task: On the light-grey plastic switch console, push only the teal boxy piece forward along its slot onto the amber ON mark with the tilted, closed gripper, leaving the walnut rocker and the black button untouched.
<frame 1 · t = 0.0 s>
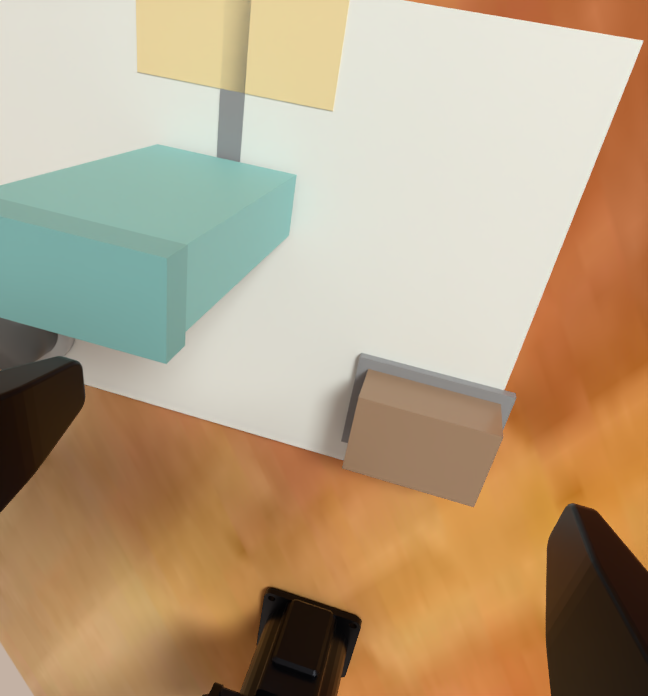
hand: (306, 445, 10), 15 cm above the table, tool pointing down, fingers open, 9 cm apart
console: (240, 242, 24), on the table
teal boxy piece: (158, 224, 17), point 6 cm above the table, slide at 0.0 cm
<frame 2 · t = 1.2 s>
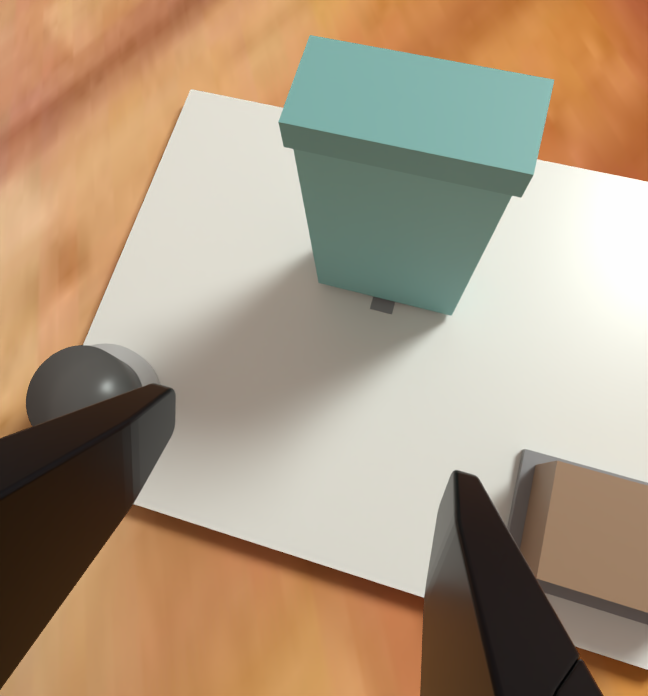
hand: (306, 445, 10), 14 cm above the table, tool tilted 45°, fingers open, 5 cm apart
console: (386, 335, 24), on the table
teal boxy piece: (399, 211, 19), point 6 cm above the table, slide at 0.0 cm
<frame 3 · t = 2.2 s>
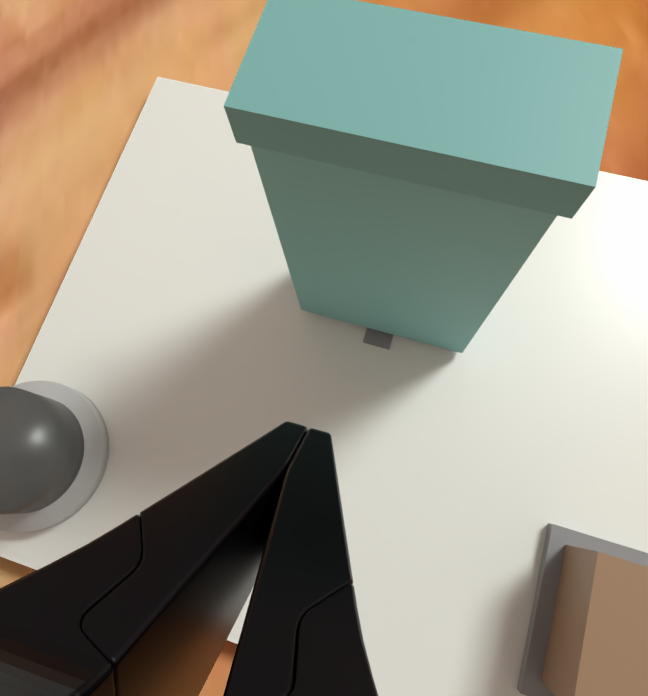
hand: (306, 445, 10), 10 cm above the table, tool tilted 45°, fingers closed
console: (382, 374, 20), on the table
teal boxy piece: (399, 228, 14), point 6 cm above the table, slide at 0.0 cm
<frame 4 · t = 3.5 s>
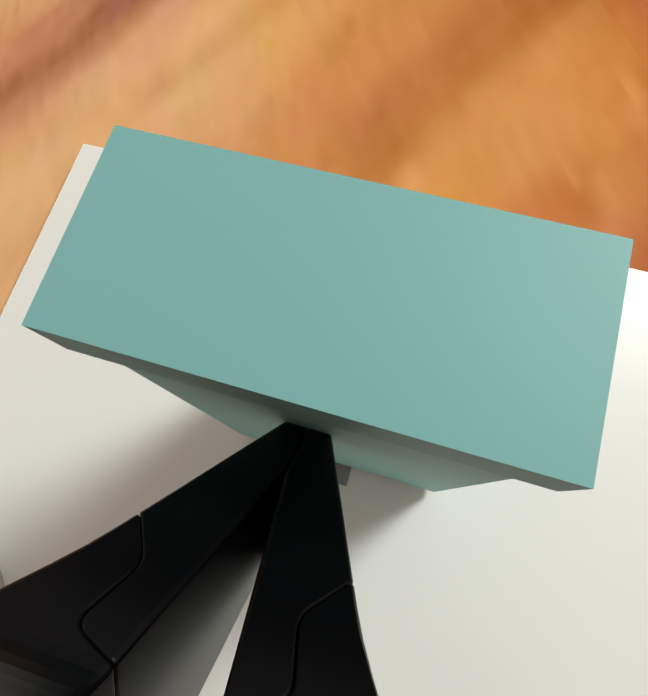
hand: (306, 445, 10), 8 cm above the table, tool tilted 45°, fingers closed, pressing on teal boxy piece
console: (340, 510, 17), on the table
teal boxy piece: (339, 384, 11), point 6 cm above the table, slide at 0.1 cm, touching gripper
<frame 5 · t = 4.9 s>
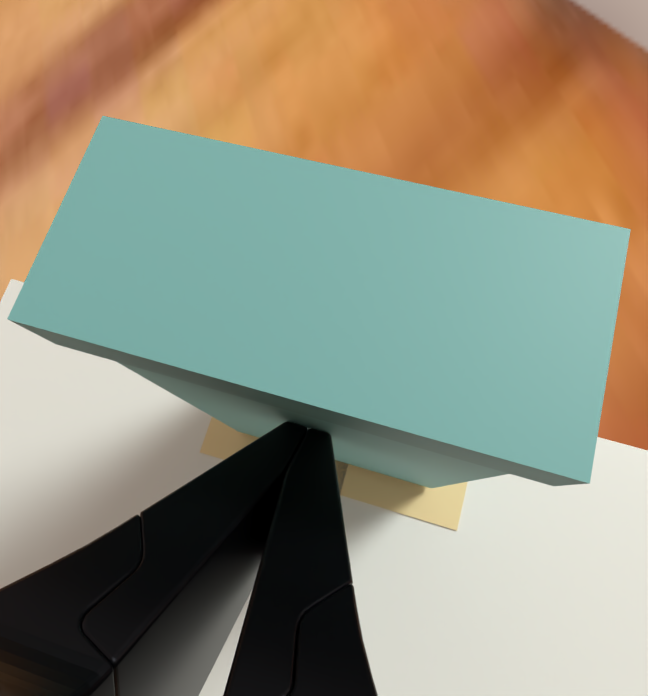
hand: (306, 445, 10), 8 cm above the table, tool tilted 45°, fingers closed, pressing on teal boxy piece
teal boxy piece: (335, 380, 11), point 6 cm above the table, slide at 5.9 cm, touching gripper
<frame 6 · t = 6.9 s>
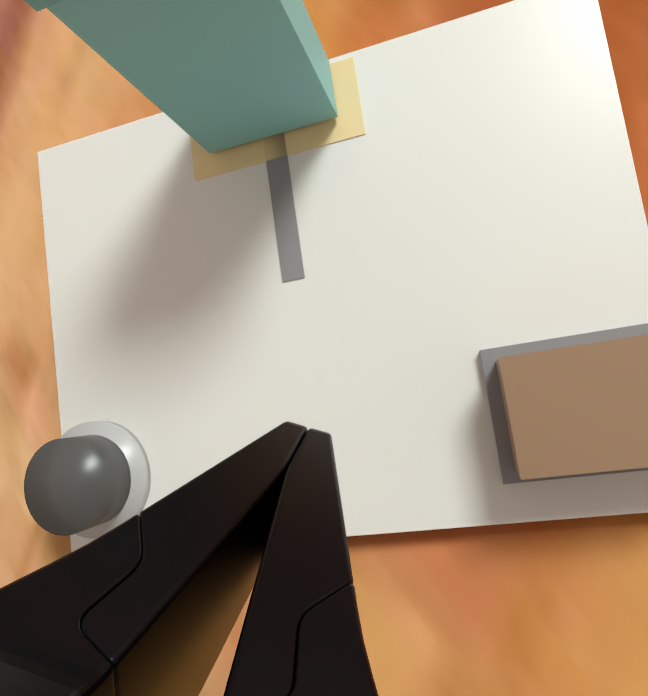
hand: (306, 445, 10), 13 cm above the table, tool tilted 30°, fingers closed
console: (312, 297, 23), on the table
teal boxy piece: (210, 30, 18), point 6 cm above the table, slide at 5.9 cm
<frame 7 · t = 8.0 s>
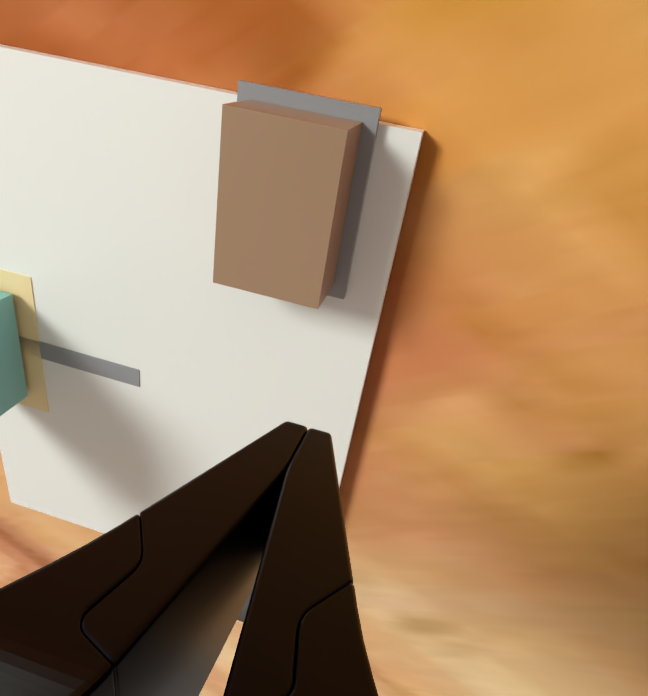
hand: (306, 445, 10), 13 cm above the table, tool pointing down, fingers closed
console: (161, 365, 27), on the table
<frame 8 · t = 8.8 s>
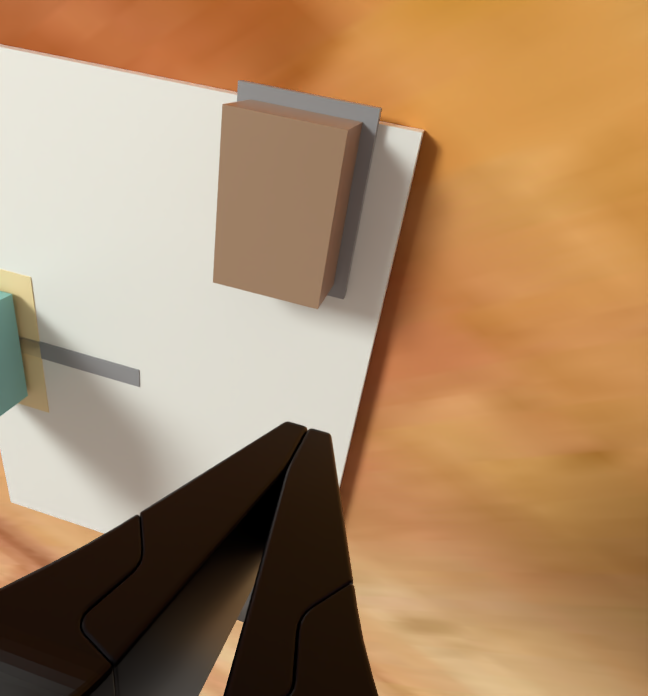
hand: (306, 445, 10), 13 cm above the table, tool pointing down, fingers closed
console: (161, 365, 27), on the table
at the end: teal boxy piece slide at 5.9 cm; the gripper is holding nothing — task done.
